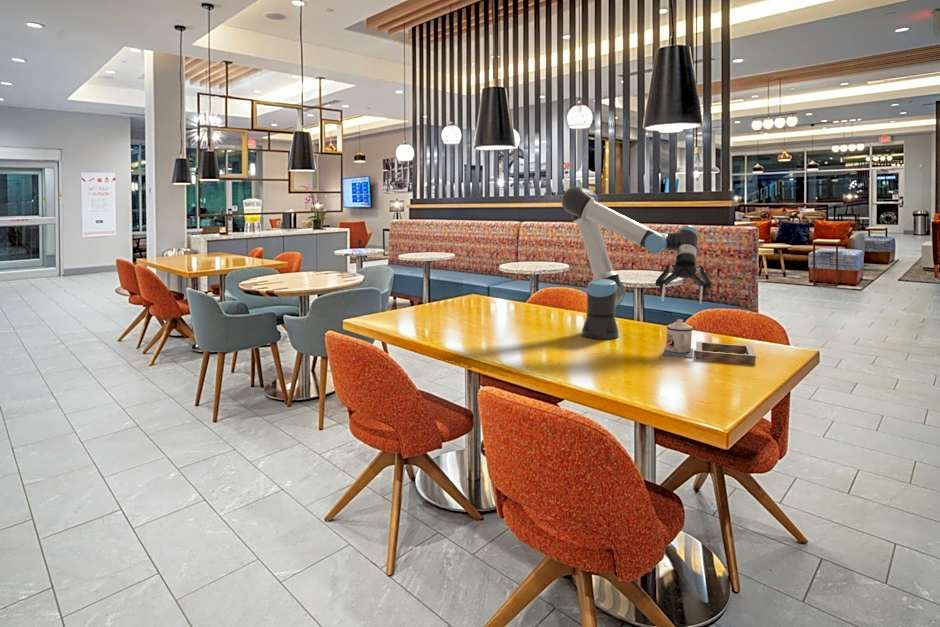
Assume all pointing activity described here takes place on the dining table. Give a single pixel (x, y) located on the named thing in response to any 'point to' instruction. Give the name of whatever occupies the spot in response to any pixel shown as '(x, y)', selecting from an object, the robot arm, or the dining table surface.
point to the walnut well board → (706, 347)
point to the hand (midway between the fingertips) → (681, 300)
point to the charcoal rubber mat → (678, 354)
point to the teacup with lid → (679, 337)
